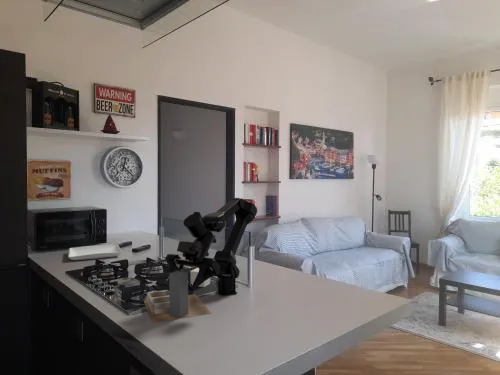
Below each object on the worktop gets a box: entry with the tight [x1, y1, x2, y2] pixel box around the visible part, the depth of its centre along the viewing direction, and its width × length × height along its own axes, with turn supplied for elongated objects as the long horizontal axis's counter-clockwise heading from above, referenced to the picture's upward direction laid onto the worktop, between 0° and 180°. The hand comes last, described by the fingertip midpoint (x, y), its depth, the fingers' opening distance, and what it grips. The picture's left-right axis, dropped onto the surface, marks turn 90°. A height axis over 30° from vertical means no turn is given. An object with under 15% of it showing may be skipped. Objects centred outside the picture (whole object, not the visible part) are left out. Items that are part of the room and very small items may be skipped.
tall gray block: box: [168, 270, 189, 319], centre depth 113 cm, size 4×4×13 cm
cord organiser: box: [143, 289, 212, 323], centre depth 120 cm, size 18×21×4 cm
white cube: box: [190, 267, 211, 288], centre depth 149 cm, size 6×6×6 cm
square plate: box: [68, 243, 123, 261], centre depth 211 cm, size 27×27×4 cm
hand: (180, 287), depth 114 cm, fingers open, 9 cm apart
